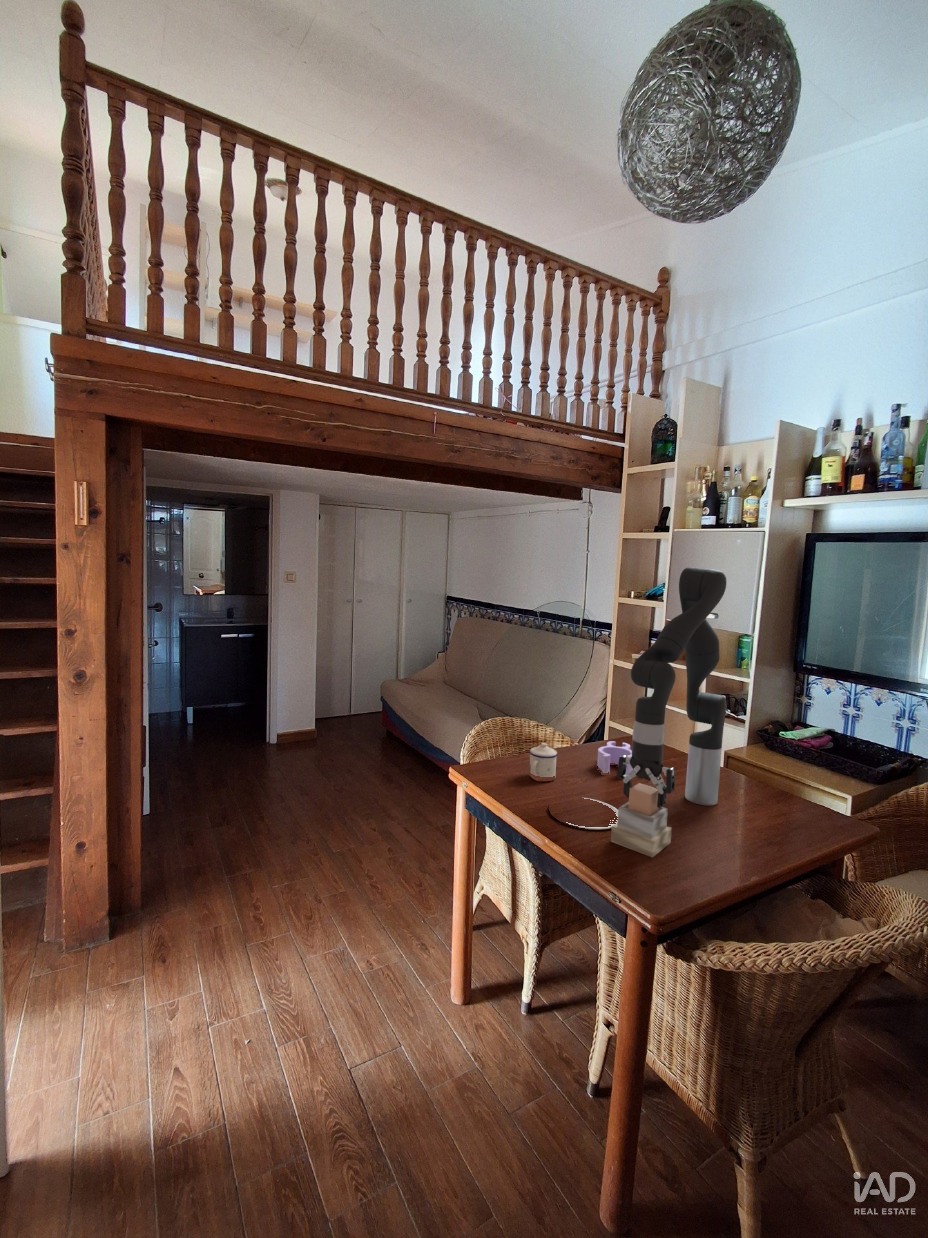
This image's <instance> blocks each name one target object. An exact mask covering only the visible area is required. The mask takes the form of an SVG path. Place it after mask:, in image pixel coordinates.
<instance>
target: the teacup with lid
mask: <svg viewBox="0 0 928 1238" xmlns="http://www.w3.org/2000/svg"><path fill="white" fill-rule="evenodd" d="M557 756H558V751H557V750H556V749H553V748H551V747H550V746H548V744H547V742H542V743H540V745H538V746H534V747H532V748H531V749H530V750H529V766H528V767H529V770H528V772H529V771H530V773H531V774H533V775H535V776H540V777H553V776H555V777H556V771H557V770H556V767H557Z"/></svg>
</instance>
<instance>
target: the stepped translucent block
mask: <svg viewBox="0 0 928 1238" xmlns="http://www.w3.org/2000/svg"><path fill="white" fill-rule="evenodd" d="M628 806H629V801H627V802H626V803H623V804H622V805H620V806H618V810H619V811H618V823H616V824H615V825H613V826H612V828H611V832H610V842H611V843H614V844H616V845H618V846H621V847H623V848H627V849H630V850H632V851H635V852H638V853H640V854H642V855H645V856H647V857H650V858H652V859H653V858H654V857H656V855H658V854H659V853H660V852H661V851H663V849H665V848H666V847H667V846H669V845H670V844H671V843H672V831H673V830H672V829H673V827H671V826H667V824H668V813H669V812H668V809H669V808H667V807H664V806H663V807H661V808H659V809H658V812H657V813H656V814H654V815H653V816H651V817H650V816H647V815H644V814H641V813H638V812H635V811H632V810H629V809H628Z"/></svg>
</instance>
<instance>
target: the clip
mask: <svg viewBox="0 0 928 1238" xmlns="http://www.w3.org/2000/svg"><path fill="white" fill-rule="evenodd" d="M616 742H617V741H613V740H610V741H607V742H606V745H603V746H600V747H599V748H598V749H597V763H596V767H597V766H598V767H599V768H600V769H601V770H602V772H603V773H608V772H609V773H610V770H611V769H610V768H611V766H610V763H615V764H619V757H621V756H623V755H627V756H628V757H630V758H631V757H632V749H631V745H630V744H629V743H626V742H622V745H621V746H618V745H617V746H616ZM632 770H633V769H632V767H631V765H630V762H629V764H627V767H626V775H628V774H629V773H630V772H631V771H632ZM602 772H601V773H602Z"/></svg>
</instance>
